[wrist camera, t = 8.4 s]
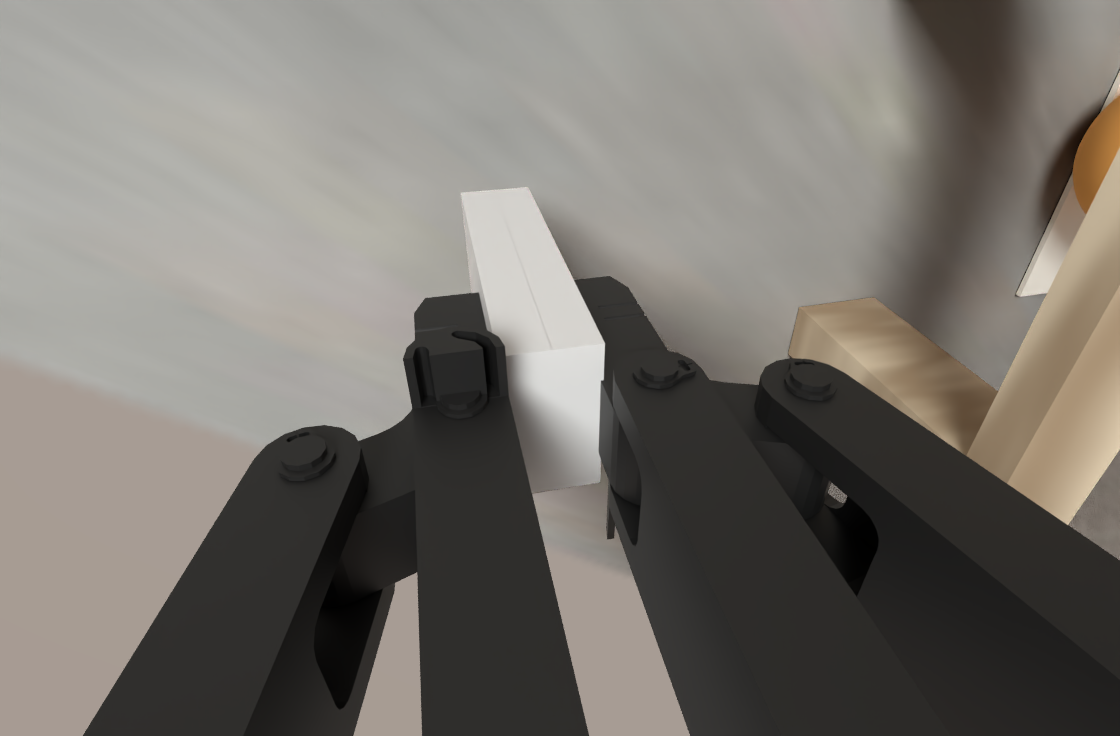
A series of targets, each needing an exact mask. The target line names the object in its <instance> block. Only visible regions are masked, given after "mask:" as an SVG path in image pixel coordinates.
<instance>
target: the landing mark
mask: <svg viewBox="0 0 1120 736" xmlns="http://www.w3.org/2000/svg"><path fill="white" fill-rule="evenodd" d="M1118 96H1120V71H1119V73H1118V76H1117V78H1116V80H1115V82H1114V84H1113V86H1112V88H1111V91H1110V93H1109V95H1108V97H1107V99H1106V101H1105V104H1104V106H1103V108H1102V110H1101V112H1102V111H1103V110H1104V109H1105V108H1106V107H1107V106H1108V105H1109V104H1110V103H1111V102H1112V101H1113V100H1114V99H1116V98H1117V97H1118ZM1101 112H1100V113H1101ZM1085 216H1086V214H1085V213H1084V211H1083V210H1082V208H1081V206H1080V204H1079V202H1078V200H1077V197H1076V194H1075V190H1074V184H1073V172H1072V175H1071V177H1070V179H1069V181H1068V183H1067V185H1066V187H1065V190H1064V192H1063V194H1062V196H1061V198H1060V200H1059V203H1058V205H1057V207H1056V209H1055V211H1054V213H1053V215H1052V218H1051V220H1050V222H1049V224H1048V226H1047V228H1046V231H1045V233H1044V235H1043V237H1042V239H1041V241H1040V243H1039V246H1038V248H1037V250H1036V252H1035V254H1034V256H1033V258H1032V261H1031V263H1030V265H1029V267H1028V269H1027V271H1026V274H1025V276H1024V278H1023V280H1022V282H1021V284H1020V286H1019V289H1018V291H1017V293H1016V295H1018V296H1019V297H1022V296H1029V295H1036V294H1043V293H1048V291H1049V289H1050V286H1051V284H1052V282H1053V280H1054V278H1055V276H1056V274H1057V272H1058V270H1059V268H1060V266H1061V264H1062V262H1063V260H1064V258H1065V256H1066V254H1067V252H1068V250H1069V248H1070V246H1071V244H1072V242H1073V240H1074V238H1075V236H1076V234H1077V232H1078V230H1079V228H1080V226H1081V224H1082V222H1083V220H1084V218H1085Z"/></svg>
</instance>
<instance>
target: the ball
mask: <svg viewBox="0 0 1120 736" xmlns="http://www.w3.org/2000/svg"><path fill="white" fill-rule="evenodd" d="M1119 148H1120V96H1118V97H1117V98H1116V99H1114V100H1113V101H1112V102H1111V103H1110V104H1109V105H1108V106H1107V107H1106V108H1105V109H1104V110H1103V111H1102V112H1101V113H1100V114H1099V115H1098V116H1097V117H1096V119H1095V120H1094V121H1093V123H1092V124H1091V125H1090V127H1089V128H1088V130H1087V131H1086V133H1085V135H1084V137H1083V139H1082V141H1081V143H1080V145H1079V147H1078V150H1077V153H1076V156H1075V160H1074V165H1073V184H1074V190H1075V194H1076V197H1077V200H1078V202H1079V204H1080V206H1081V208H1082V210H1083V211H1084V213H1085V214H1087V212H1088V210H1089V208H1090V206H1091V204H1092V202H1093V200H1094V198H1095V196H1096V194H1097V192H1098V190H1099V188H1100V186H1101V184H1102V182H1103V180H1104V178H1105V176H1106V174H1107V172H1108V170H1109V168H1110V166H1111V164H1112V162H1113V160H1114V158H1115V156H1116V154H1117V152H1118V150H1119Z"/></svg>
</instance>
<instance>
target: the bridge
mask: <svg viewBox="0 0 1120 736" xmlns="http://www.w3.org/2000/svg"><path fill="white" fill-rule="evenodd" d="M788 354H789V355H790V356H791V357H792V358H797V359H811V360H815V361H818V362H822V363H825V364H829V365H831V366H833V367H835V368H837V369H838V370H840V371H842V372H844V373H846V374H847V375H849V376H850V377H852V378H853V379H855V380H856V381H857V382H859V383H860V384H862V385H863V386H865V387H866V388H868V389H869V390H871V391H872V392H874V393H875V394H876V395H878V396H879V397H881V398H882V399H884V400H885V401H887V402H888V403H890V404H891V405H893V406H894V407H896V408H897V409H898V410H900V411H901V412H903V413H904V414H906V415H907V416H909V417H910V418H912V419H913V420H915V421H916V422H917V423H919V424H920V425H922V426H923V427H925V428H926V429H928V430H929V431H931V432H932V433H934V434H935V435H937V436H938V437H939V438H941V439H942V440H944V441H945V442H947V443H948V444H950V445H951V446H953V447H954V448H956V449H957V450H959V451H960V452H961V453H963V454H964V455H966V456H967V457H969V458H970V459H972V460H973V461H975V462H976V463H978V464H979V465H980V466H982V467H983V468H985V469H986V470H988V471H989V472H991V473H992V474H994V475H995V476H997V477H998V478H1000V479H1001V480H1002V481H1004V482H1005V483H1007V484H1008V485H1010V486H1011V487H1013V488H1014V489H1016V490H1017V491H1019V492H1020V493H1021V494H1023V495H1024V496H1026V497H1027V498H1029V499H1030V500H1032V501H1033V502H1035V503H1036V504H1038V505H1039V506H1041V507H1042V508H1043V509H1045V510H1046V511H1048V512H1049V513H1051V514H1052V515H1054V516H1055V517H1057V518H1058V519H1060V520H1061V521H1063V522H1064V523H1065V524H1067V525H1068V524H1069V523H1070V521H1071V520H1072V518H1073V517H1074V516H1075V514H1076V513H1077V511H1078V510H1079V508H1080V507H1081V505H1082V504H1083V502H1084V501H1085V499H1086V498H1087V497H1088V495H1089V494H1090V492H1091V491H1092V489H1093V488H1094V486H1095V485H1096V483H1097V482H1098V481H1099V479H1100V478H1101V476H1102V475H1103V473H1104V472H1105V470H1106V469H1107V467H1108V466H1109V464H1110V463H1111V462H1112V460H1113V459H1114V457H1115V456H1116V454H1117V453H1118V451H1119V450H1120V148H1119V150H1118V152H1117V154H1116V156H1115V158H1114V160H1113V162H1112V164H1111V166H1110V168H1109V170H1108V172H1107V174H1106V176H1105V178H1104V180H1103V182H1102V184H1101V186H1100V188H1099V190H1098V192H1097V194H1096V196H1095V198H1094V200H1093V202H1092V204H1091V206H1090V208H1089V210H1088V212H1087V214H1086V216H1085V218H1084V220H1083V222H1082V224H1081V226H1080V228H1079V230H1078V232H1077V234H1076V236H1075V238H1074V240H1073V242H1072V244H1071V246H1070V248H1069V250H1068V252H1067V254H1066V256H1065V258H1064V260H1063V262H1062V264H1061V266H1060V268H1059V270H1058V272H1057V274H1056V276H1055V278H1054V280H1053V282H1052V284H1051V286H1050V289H1049V291H1048V293H1047V295H1046V297H1045V299H1044V301H1043V303H1042V305H1041V307H1040V309H1039V311H1038V313H1037V315H1036V317H1035V319H1034V321H1033V323H1032V325H1031V327H1030V329H1029V331H1028V333H1027V335H1026V337H1025V339H1024V341H1023V343H1022V345H1021V347H1020V349H1019V351H1018V353H1017V355H1016V357H1015V359H1014V361H1013V363H1012V365H1011V367H1010V369H1009V371H1008V373H1007V375H1006V377H1005V379H1004V381H1003V383H1002V385H1001V387H1000V389H999V391H997V390H995V389H994V388H993V387H991V386H990V385H989V384H987V383H986V382H985V381H983V380H982V379H981V378H979V377H978V376H977V375H976V374H974V373H973V372H972V371H970V370H969V369H968V368H966V367H965V366H964V365H962V364H961V363H960V362H958V361H957V360H956V359H954V358H953V357H952V356H950V355H949V354H948V353H947V352H945V351H944V350H943V349H941V348H940V347H939V346H937V345H936V344H935V343H933V342H932V341H931V340H929V339H928V338H927V337H925V336H924V335H923V334H921V333H920V332H919V331H918V330H916V329H915V328H914V327H912V326H911V325H910V324H908V323H907V322H906V321H904V320H903V319H902V318H900V317H899V316H898V315H896V314H895V313H894V312H892V311H891V310H890V309H889V308H887V307H886V306H885V305H883V304H882V303H881V302H879V301H878V300H877V299H875V298H874V297H872V298H865V299H858V300H850V301H843V302H835V303H828V304H820V305H813V306H805V307H799V311H798V315H797V319H796V323H795V327H794V332H793V336H792V340H791V344H790V348H789V352H788Z"/></svg>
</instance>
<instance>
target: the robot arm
mask: <svg viewBox="0 0 1120 736" xmlns="http://www.w3.org/2000/svg"><path fill="white" fill-rule="evenodd" d="M461 200H462V210H463V219H464V228H465V238H466V247H467V256H468V266H469V275H470V284H471V293H469V294H460V295H450V296H441V297H432V298H425V299H424V301H423V302H422V303H421V305H420V306H419V307H418V309H417V310H416V312H415V313H414V322H415V341H414V342H413V343H412V344H410V345H409V346H408V347H407V349H406V352H405V355H404V358H403V361H404V366H405V371H406V377H407V382H408V387H409V392H410V398H411V403H412V410H411V412H410V413H409V414H408V415H407V416H406V417H405V418H404V419H403V420H402V421H401V422H399V423H398V424H396V425H395V426H393V427H392V428H390V429H388V430H386V431H383V432H381V433H379V434H377V435H374V436H371V437H369V438H366V439H363V440H360V441H358V440H357V439H356V437H355V435H353V434H352V433H350V432H348V431H346V430H345V429H343V428H339V427H332V426H326V425H322V426H314V427H305V428H301V429H299V430H296V431H293V432H290V433H287V434H284V435H282V436H281V437H279V438H278V439H276V440H274V441H273V442H271V443H270V444H268V445H267V446H266V447H265V448H264V449H263V450H262V451H261V452H260V453H259V454H258V455H257V456H256V458H255V459H254V460H253V462H252V463H251V465H250V466H249V468H248V470H247V471H246V473H245V475H244V476H243V478H242V479H241V481H240V483H239V484H238V486H237V488H236V489H235V491H234V492H233V494H232V496H231V497H230V499H229V500H228V502H227V504H226V505H225V507H224V508H223V510H222V512H221V513H220V515H219V517H218V518H217V520H216V521H215V523H214V525H213V527H212V528H211V529H210V531H209V533H208V534H207V536H206V538H205V539H204V541H203V542H202V544H201V546H200V547H199V549H198V551H197V552H196V554H195V555H194V557H193V559H192V560H191V562H190V563H189V565H188V567H187V568H186V570H185V572H184V573H183V575H182V576H181V578H180V580H179V581H178V583H177V584H176V586H175V588H174V589H173V591H172V592H171V594H170V596H169V597H168V599H167V601H166V602H165V604H164V606H163V607H162V609H161V610H160V612H159V613H158V615H157V617H156V618H155V620H154V622H153V623H152V625H151V626H150V628H149V630H148V631H147V633H146V635H145V636H144V638H143V639H142V641H141V643H140V644H139V646H138V648H137V649H136V651H135V652H134V654H133V656H132V657H131V659H130V661H129V662H128V664H127V665H126V667H125V669H124V670H123V672H122V673H121V675H120V677H119V678H118V680H117V681H116V683H115V685H114V686H113V688H112V689H111V691H110V693H109V694H108V696H107V698H106V699H105V701H104V702H103V704H102V706H101V707H100V709H99V711H98V712H97V714H96V715H95V717H94V718H93V720H92V722H91V723H90V725H89V727H88V728H87V730H86V731H85V733H84V735H83V736H353V735H354V731H355V727H356V724H357V721H358V717H359V713H360V710H361V707H362V703H363V700H364V696H365V693H366V689H367V685H368V682H369V679H370V675H371V672H372V668H373V665H374V661H375V658H376V654H377V650H378V647H379V644H380V640H381V636H382V633H383V629H384V626H385V622H386V619H387V615H388V612H389V608H390V605H391V601H392V598H393V594H394V588H395V582H397V581H400V580H401V579H404V578H406V577H408V576H410V575H412V574H414V573H416V572H417V574H418V606H419V607H418V608H419V641H420V672H421V673H420V674H421V675H420V676H421V708H422V709H421V711H422V736H589V734H588V729H587V726H586V721H585V717H584V713H583V708H582V704H581V700H580V695H579V691H578V687H577V683H576V679H575V674H574V670H573V666H572V662H571V657H570V653H569V649H568V645H567V641H566V636H565V632H564V628H563V624H562V619H561V615H560V611H559V607H558V602H557V598H556V594H555V589H554V585H553V581H552V577H551V572H550V568H549V564H548V560H547V556H546V551H545V547H544V543H543V539H542V534H541V530H540V526H539V522H538V517H537V513H536V509H535V505H534V500H533V496H532V494H533V493H539V492H545V491H551V490H558V489H564V488H570V487H576V486H582V485H588V484H594V483H600V473H601V460H602V463H603V466H604V468H605V471H606V474H607V476H608V479H609V482H608V504H607V526H606V529H607V539H613V538H614V531H615V526H616V528H617V531H618V534H619V537H620V540H621V542H622V545H623V548H624V551H625V554H626V556H627V559H628V562H629V565H630V568H631V570H632V573H633V576H634V579H635V582H636V585H637V587H638V590H639V593H640V596H641V598H642V601H643V604H644V607H645V610H646V613H647V615H648V618H649V621H650V624H651V627H652V629H653V632H654V635H655V638H656V641H657V643H658V646H659V649H660V652H661V654H662V657H663V660H664V663H665V666H666V669H667V671H668V674H669V677H670V680H671V682H672V686H673V688H674V691H675V694H676V697H677V700H678V702H679V705H680V708H681V711H682V714H683V716H684V719H685V722H686V725H687V727H688V730H689V733H690V736H1120V560H1118V559H1117V558H1115V557H1114V556H1112V555H1111V554H1109V553H1108V552H1106V551H1105V550H1104V549H1102V548H1101V547H1099V546H1098V545H1096V544H1095V543H1093V542H1092V541H1090V540H1089V539H1087V538H1086V537H1084V536H1083V535H1082V534H1080V533H1079V532H1077V531H1076V530H1074V529H1073V528H1071V527H1070V526H1068V525H1067V524H1065V523H1064V522H1063V521H1061V520H1060V519H1058V518H1057V517H1055V516H1054V515H1052V514H1051V513H1049V512H1048V511H1046V510H1045V509H1043V508H1042V507H1041V506H1039V505H1038V504H1036V503H1035V502H1033V501H1032V500H1030V499H1029V498H1027V497H1026V496H1024V495H1023V494H1021V493H1020V492H1019V491H1017V490H1016V489H1014V488H1013V487H1011V486H1010V485H1008V484H1007V483H1005V482H1004V481H1002V480H1001V479H1000V478H998V477H997V476H995V475H994V474H992V473H991V472H989V471H988V470H986V469H985V468H983V467H982V466H980V465H979V464H978V463H976V462H975V461H973V460H972V459H970V458H969V457H967V456H966V455H964V454H963V453H961V452H960V451H959V450H957V449H956V448H954V447H953V446H951V445H950V444H948V443H947V442H945V441H944V440H942V439H941V438H939V437H938V436H937V435H935V434H934V433H932V432H931V431H929V430H928V429H926V428H925V427H923V426H922V425H920V424H919V423H917V422H916V421H915V420H913V419H912V418H910V417H909V416H907V415H906V414H904V413H903V412H901V411H900V410H898V409H897V408H896V407H894V406H893V405H891V404H890V403H888V402H887V401H885V400H884V399H882V398H881V397H879V396H878V395H876V394H875V393H874V392H872V391H871V390H869V389H868V388H866V387H865V386H863V385H862V384H860V383H859V382H857V381H856V380H855V379H853V378H852V377H850V376H849V375H847V374H846V373H844V372H842V371H840V370H838V369H837V368H835V367H833V366H831V365H829V364H825V363H822V362H818V361H815V360H811V359H797V358H791V359H785V360H779V361H776V362H774V363H772V364H770V365H768V366H766V367H765V369H764V371H763V373H762V374H761V377H760V382H759V385H750V384H736V383H724V382H718V381H711V380H709V379H708V377H707V376H706V374H705V373H704V371H703V370H702V369H701V368H700V367H699V366H698V365H697V364H696V363H695V362H694V361H693V360H692V359H689V358H687V357H685V356H683V355H681V354H679V353H675V352H670V351H668V350H667V348H666V347H665V345H664V344H663V342H662V341H661V339H660V337H659V336H658V334H657V333H656V331H655V329H654V328H653V326H652V325H651V323H650V322H649V320H648V318H647V317H646V316H644V312H643V310H642V309H641V307H640V306H639V304H637V301H636V299H635V298H634V296H633V295H632V293H631V292H630V290H629V288H628V287H626V286H625V285H623V284H622V283H620V282H618V281H617V280H615V279H613V278H612V277H610V276H607V277H598V278H589V279H580V280H573V277H572V275H571V273H570V271H569V269H568V267H567V265H566V263H565V261H564V259H563V257H562V255H561V253H560V251H559V249H558V247H557V245H556V243H555V241H554V239H553V237H552V235H551V233H550V231H549V229H548V227H547V225H546V223H545V221H544V219H543V217H542V215H541V212H540V210H539V208H538V206H537V204H536V202H535V200H534V198H533V196H532V194H531V192H530V190H529V188H528V187H523V188H511V189H499V190H487V191H475V192H463V193H461ZM831 482H832V483H833V484H834V485H835V486H837V487H838V488H839V489H840V490H841V491H842V492H844V493H845V494H846V495H847V499H846V502H845V503H840V502H839V501H837V500H836V499H834V498H833V497H832V496H831V495H829V494H828V490H829V487H830V484H831Z"/></svg>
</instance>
